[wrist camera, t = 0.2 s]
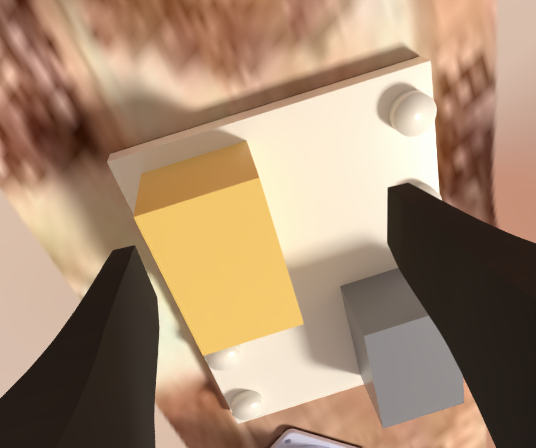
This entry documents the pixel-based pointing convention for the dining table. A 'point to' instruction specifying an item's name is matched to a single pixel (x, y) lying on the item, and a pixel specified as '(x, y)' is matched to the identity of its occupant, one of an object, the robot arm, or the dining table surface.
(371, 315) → the base brick
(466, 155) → the dining table surface
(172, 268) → the top brick
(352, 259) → the baseplate
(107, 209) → the dining table surface
